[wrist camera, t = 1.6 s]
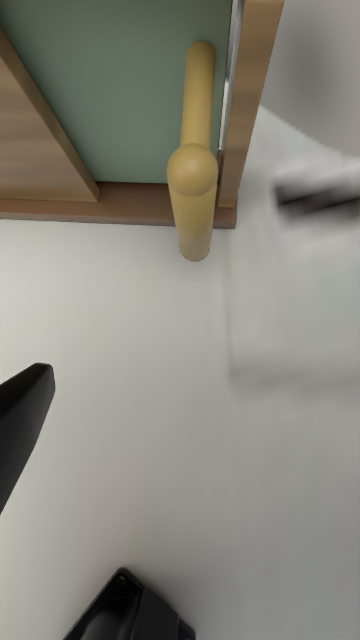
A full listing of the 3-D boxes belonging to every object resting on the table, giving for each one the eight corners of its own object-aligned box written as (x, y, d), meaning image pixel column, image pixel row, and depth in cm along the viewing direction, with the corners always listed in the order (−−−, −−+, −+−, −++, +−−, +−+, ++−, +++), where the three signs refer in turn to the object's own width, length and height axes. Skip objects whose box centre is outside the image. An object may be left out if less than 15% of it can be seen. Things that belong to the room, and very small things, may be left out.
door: (209, 271, 22) (223, 170, 10) (75, 264, 22) (-69, 161, 10) (215, 165, 22) (236, -50, 10) (85, 161, 23) (-38, -48, 11)
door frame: (234, 229, 23) (302, -6, 8) (-20, 217, 25) (-382, -6, 9) (238, 160, 24) (308, -186, 9) (-12, 152, 25) (-342, -164, 10)
